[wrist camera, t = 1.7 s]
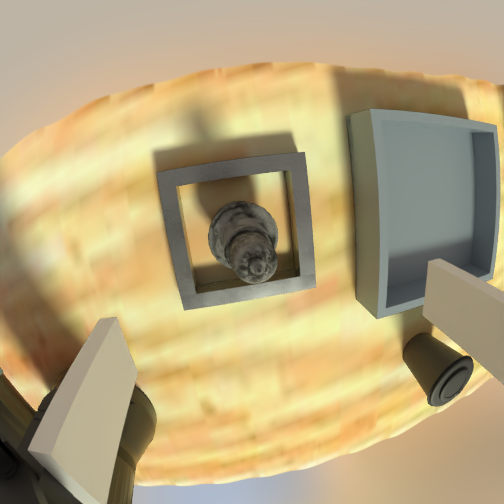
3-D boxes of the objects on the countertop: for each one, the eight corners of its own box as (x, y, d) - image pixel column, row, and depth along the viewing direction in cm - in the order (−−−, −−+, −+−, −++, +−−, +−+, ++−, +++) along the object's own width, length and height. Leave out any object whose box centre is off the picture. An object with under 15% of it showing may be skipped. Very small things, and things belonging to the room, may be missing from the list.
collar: (185, 301, 29) (184, 310, 27) (160, 172, 25) (156, 172, 24) (309, 280, 31) (315, 287, 29) (298, 152, 27) (304, 152, 25)
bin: (356, 299, 32) (376, 319, 27) (345, 116, 26) (370, 108, 21) (469, 267, 34) (492, 278, 29) (470, 126, 28) (496, 125, 23)
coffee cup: (422, 369, 38) (457, 406, 29) (386, 371, 37) (421, 415, 27) (444, 325, 36) (486, 358, 27) (409, 322, 35) (454, 362, 25)
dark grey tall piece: (202, 205, 27) (196, 233, 16) (264, 192, 27) (302, 210, 16) (215, 264, 29) (220, 327, 17) (274, 251, 29) (314, 305, 18)
